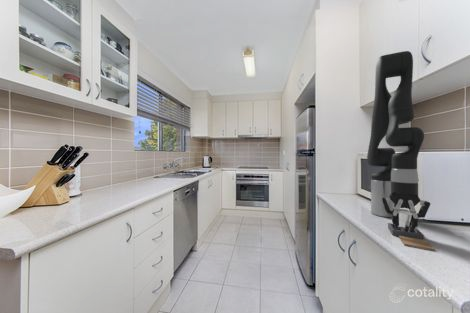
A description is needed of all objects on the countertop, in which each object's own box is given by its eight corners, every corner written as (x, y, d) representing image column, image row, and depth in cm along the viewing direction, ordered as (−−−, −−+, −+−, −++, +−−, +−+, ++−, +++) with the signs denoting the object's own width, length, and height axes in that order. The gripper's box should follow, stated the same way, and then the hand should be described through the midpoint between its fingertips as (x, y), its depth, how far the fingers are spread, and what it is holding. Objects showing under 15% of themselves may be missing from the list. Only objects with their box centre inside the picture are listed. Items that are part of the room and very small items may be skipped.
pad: (398, 237, 65) (398, 235, 65) (426, 241, 62) (426, 240, 62) (404, 245, 59) (404, 243, 59) (434, 251, 56) (434, 249, 56)
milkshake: (417, 237, 66) (419, 209, 65) (400, 235, 67) (402, 208, 66) (408, 232, 70) (410, 206, 70) (392, 230, 71) (394, 204, 71)
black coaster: (388, 227, 74) (388, 223, 74) (415, 232, 70) (415, 227, 70) (392, 235, 67) (392, 229, 67) (423, 240, 63) (423, 234, 63)
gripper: (426, 181, 68) (427, 227, 68) (378, 178, 75) (378, 220, 75) (435, 183, 62) (435, 234, 62) (381, 180, 69) (381, 226, 69)
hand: (404, 226), depth 68 cm, fingers closed on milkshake, 4 cm apart
